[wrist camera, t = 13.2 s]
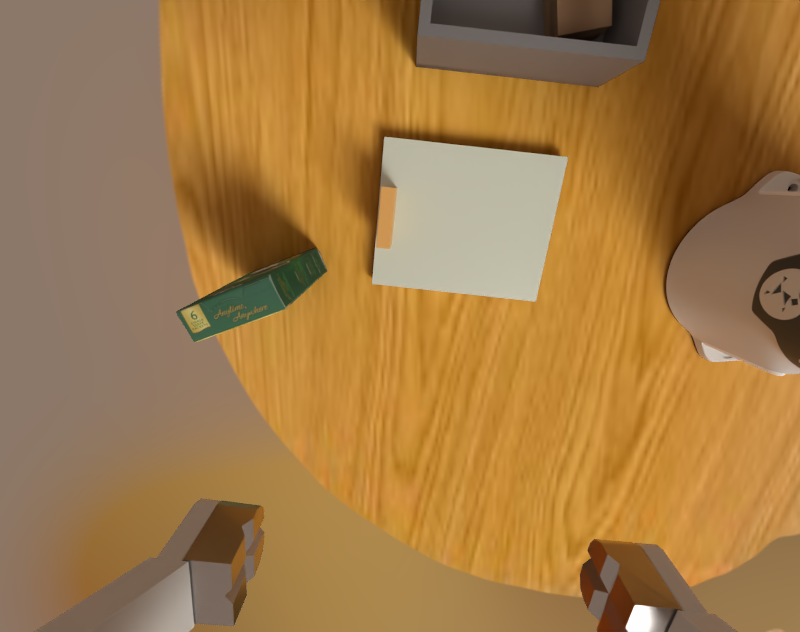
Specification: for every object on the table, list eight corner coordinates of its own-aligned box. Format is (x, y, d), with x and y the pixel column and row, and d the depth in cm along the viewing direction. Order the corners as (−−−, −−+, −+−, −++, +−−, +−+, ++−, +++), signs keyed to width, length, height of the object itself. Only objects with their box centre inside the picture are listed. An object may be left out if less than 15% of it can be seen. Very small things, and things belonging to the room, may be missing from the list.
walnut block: (593, -18, 30) (612, -40, 28) (593, 40, 32) (612, 25, 29) (542, -8, 31) (556, -28, 28) (544, 49, 32) (558, 35, 29)
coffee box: (259, 298, 40) (191, 346, 28) (246, 273, 39) (170, 310, 27) (328, 272, 39) (291, 310, 27) (317, 245, 38) (272, 272, 26)
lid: (560, 158, 36) (588, 152, 30) (530, 296, 40) (549, 313, 34) (385, 139, 36) (380, 129, 30) (373, 279, 40) (367, 293, 34)
